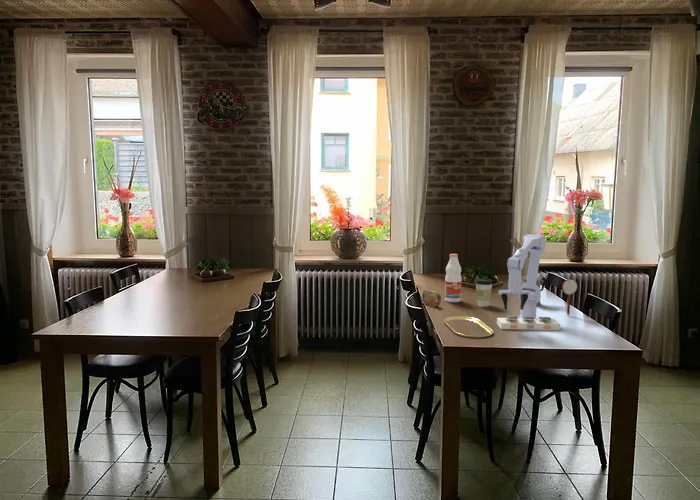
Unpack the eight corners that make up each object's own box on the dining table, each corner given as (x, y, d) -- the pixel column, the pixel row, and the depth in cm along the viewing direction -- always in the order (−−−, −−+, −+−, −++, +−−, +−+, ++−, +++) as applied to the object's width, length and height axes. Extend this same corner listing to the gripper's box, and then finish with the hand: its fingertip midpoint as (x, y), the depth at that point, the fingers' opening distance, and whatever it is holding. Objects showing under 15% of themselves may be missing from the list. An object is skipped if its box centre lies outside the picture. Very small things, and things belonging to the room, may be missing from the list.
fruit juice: (459, 299, 323) (460, 253, 319) (461, 302, 314) (463, 255, 310) (443, 298, 324) (445, 253, 320) (445, 302, 315) (446, 255, 311)
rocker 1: (506, 318, 267) (506, 316, 267) (514, 318, 266) (514, 316, 266) (508, 318, 261) (508, 316, 261) (517, 319, 260) (517, 316, 260)
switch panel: (496, 323, 269) (497, 315, 269) (553, 324, 268) (554, 316, 267) (501, 329, 259) (501, 321, 259) (560, 330, 258) (560, 322, 257)
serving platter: (474, 318, 280) (474, 315, 280) (499, 338, 246) (499, 335, 246) (439, 319, 278) (439, 316, 278) (459, 339, 244) (459, 336, 244)
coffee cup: (474, 303, 313) (475, 278, 311) (491, 304, 311) (492, 278, 309) (474, 307, 303) (475, 281, 301) (492, 308, 301) (493, 281, 299)
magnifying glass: (561, 316, 283) (563, 279, 280) (559, 315, 285) (561, 278, 282) (576, 315, 284) (578, 278, 281) (574, 315, 286) (577, 278, 283)
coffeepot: (527, 306, 304) (528, 275, 302) (517, 303, 313) (518, 272, 311) (550, 304, 309) (551, 274, 306) (539, 301, 318) (541, 271, 315)
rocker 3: (538, 318, 265) (538, 316, 266) (547, 318, 265) (547, 316, 265) (542, 319, 260) (542, 317, 260) (550, 319, 259) (550, 317, 259)
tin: (421, 302, 314) (421, 288, 313) (426, 302, 316) (426, 288, 314) (437, 308, 301) (437, 293, 300) (441, 307, 302) (442, 293, 301)
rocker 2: (522, 318, 266) (522, 316, 266) (530, 318, 266) (530, 316, 266) (525, 319, 260) (525, 316, 260) (533, 319, 260) (533, 317, 260)
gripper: (501, 283, 255) (500, 311, 256) (532, 283, 254) (531, 311, 256) (498, 280, 262) (497, 307, 263) (528, 280, 261) (527, 308, 262)
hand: (513, 309), depth 260 cm, fingers open, 7 cm apart
